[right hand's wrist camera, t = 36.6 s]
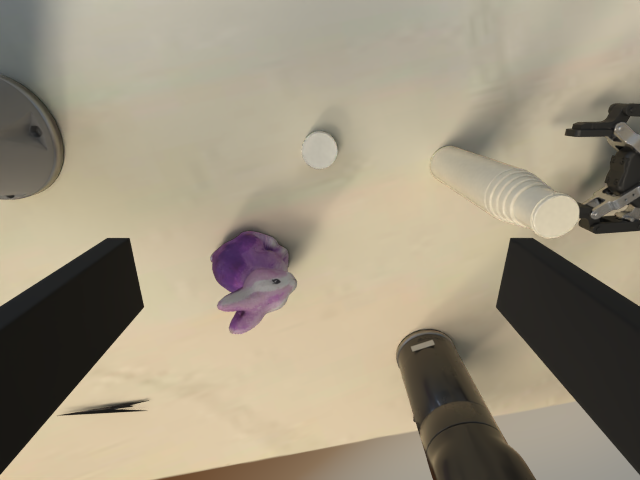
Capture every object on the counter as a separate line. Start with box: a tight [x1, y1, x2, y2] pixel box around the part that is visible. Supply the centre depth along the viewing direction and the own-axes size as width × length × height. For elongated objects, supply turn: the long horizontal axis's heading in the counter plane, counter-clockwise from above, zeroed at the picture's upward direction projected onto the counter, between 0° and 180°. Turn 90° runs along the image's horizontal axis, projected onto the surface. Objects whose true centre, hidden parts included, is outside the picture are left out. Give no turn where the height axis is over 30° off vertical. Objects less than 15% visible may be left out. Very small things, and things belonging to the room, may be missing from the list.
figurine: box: [210, 231, 297, 334], centre depth 44 cm, size 9×10×15 cm
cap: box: [302, 131, 338, 169], centre depth 44 cm, size 4×4×2 cm
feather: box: [57, 400, 149, 416], centre depth 61 cm, size 2×28×2 cm
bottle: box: [430, 146, 579, 239], centre depth 36 cm, size 5×5×23 cm
